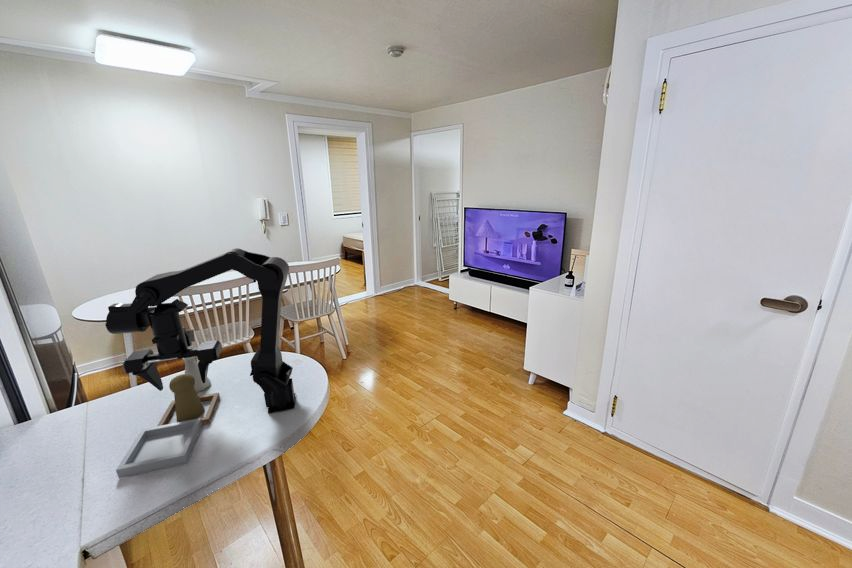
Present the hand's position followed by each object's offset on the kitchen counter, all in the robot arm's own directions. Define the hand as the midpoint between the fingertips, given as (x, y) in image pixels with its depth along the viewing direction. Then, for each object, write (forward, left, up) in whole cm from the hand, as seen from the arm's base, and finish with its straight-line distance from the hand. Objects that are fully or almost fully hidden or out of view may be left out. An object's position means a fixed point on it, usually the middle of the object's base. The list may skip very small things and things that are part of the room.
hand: (183, 385), depth 85 cm
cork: (0, 0, -9) cm, 9 cm away
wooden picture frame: (0, 0, -9) cm, 9 cm away
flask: (+2, -13, -9) cm, 16 cm away
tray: (+2, +11, -9) cm, 14 cm away
